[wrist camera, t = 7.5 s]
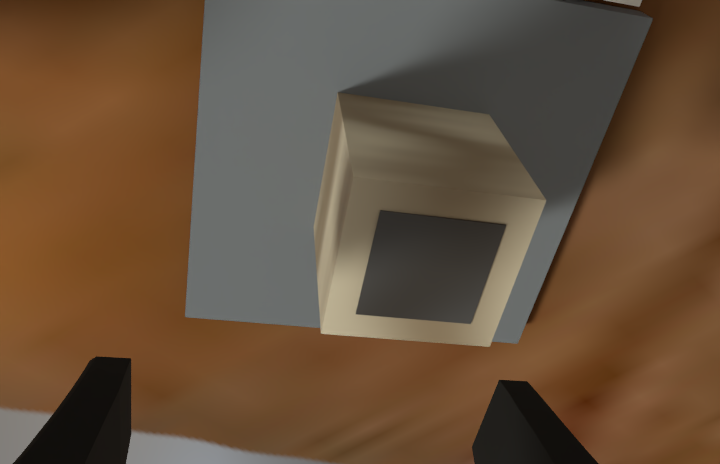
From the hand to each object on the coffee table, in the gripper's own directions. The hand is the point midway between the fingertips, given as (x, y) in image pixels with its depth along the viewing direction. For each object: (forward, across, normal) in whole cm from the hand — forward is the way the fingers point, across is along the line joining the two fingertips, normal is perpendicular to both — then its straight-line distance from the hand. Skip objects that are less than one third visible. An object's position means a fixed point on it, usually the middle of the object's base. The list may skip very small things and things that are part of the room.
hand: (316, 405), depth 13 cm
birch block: (+8, -3, -1) cm, 9 cm away
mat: (+9, -3, -1) cm, 10 cm away
